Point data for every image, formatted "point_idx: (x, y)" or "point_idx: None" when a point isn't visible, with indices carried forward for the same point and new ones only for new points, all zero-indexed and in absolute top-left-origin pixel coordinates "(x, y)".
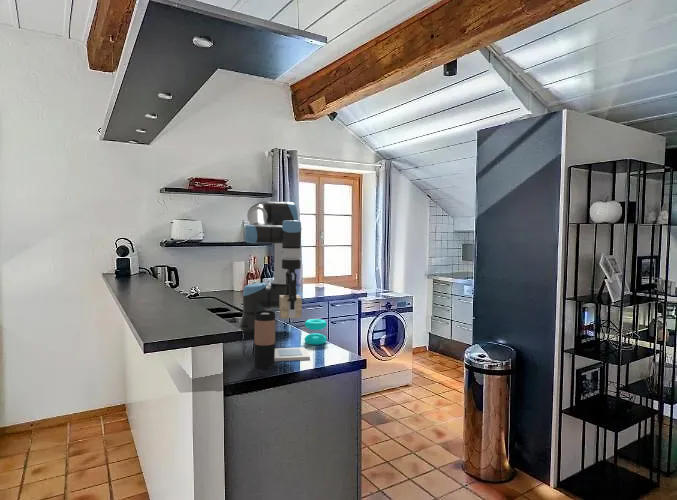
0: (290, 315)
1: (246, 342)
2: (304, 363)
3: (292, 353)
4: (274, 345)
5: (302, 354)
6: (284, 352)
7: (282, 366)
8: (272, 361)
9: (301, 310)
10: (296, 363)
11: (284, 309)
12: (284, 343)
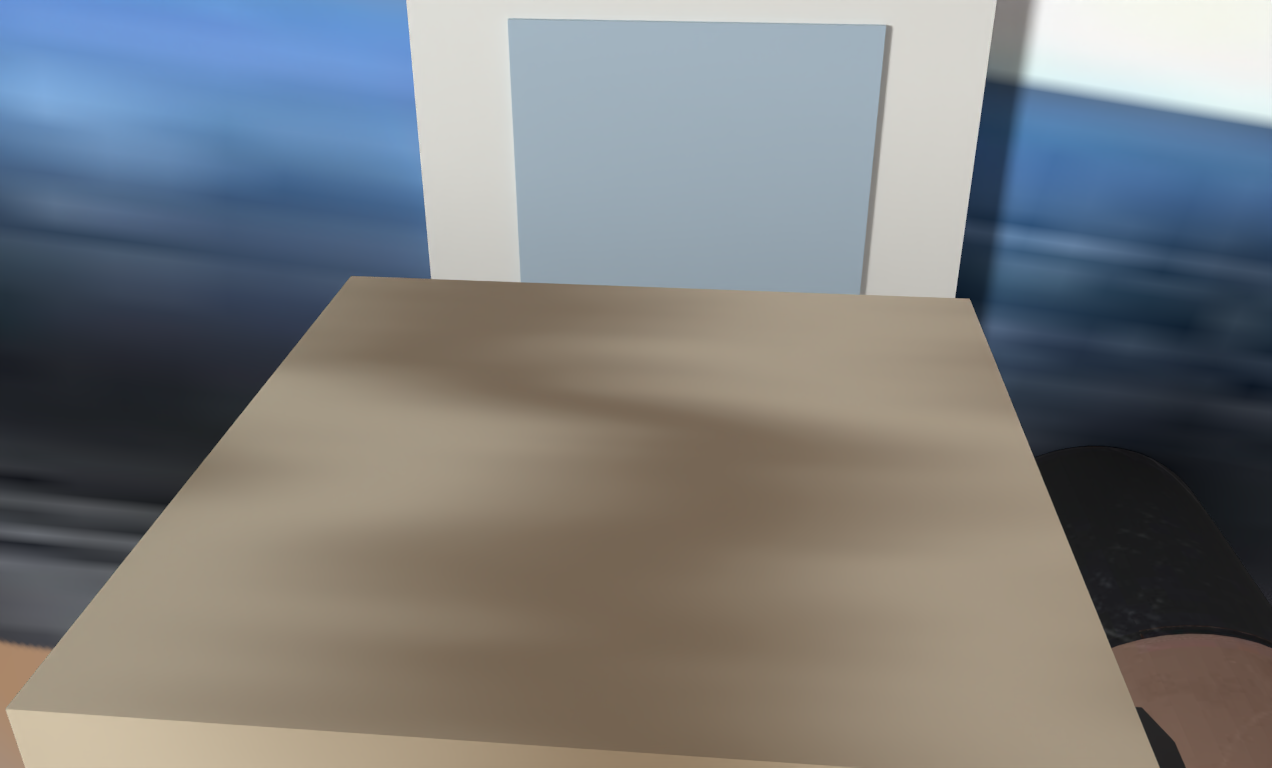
0: None
1: (5, 623)
2: (1166, 31)
3: (779, 177)
4: (1266, 629)
5: (874, 26)
6: (699, 284)
7: (1185, 353)
8: (1204, 514)
9: (1013, 420)
10: (1120, 152)
11: None
12: (2, 168)
